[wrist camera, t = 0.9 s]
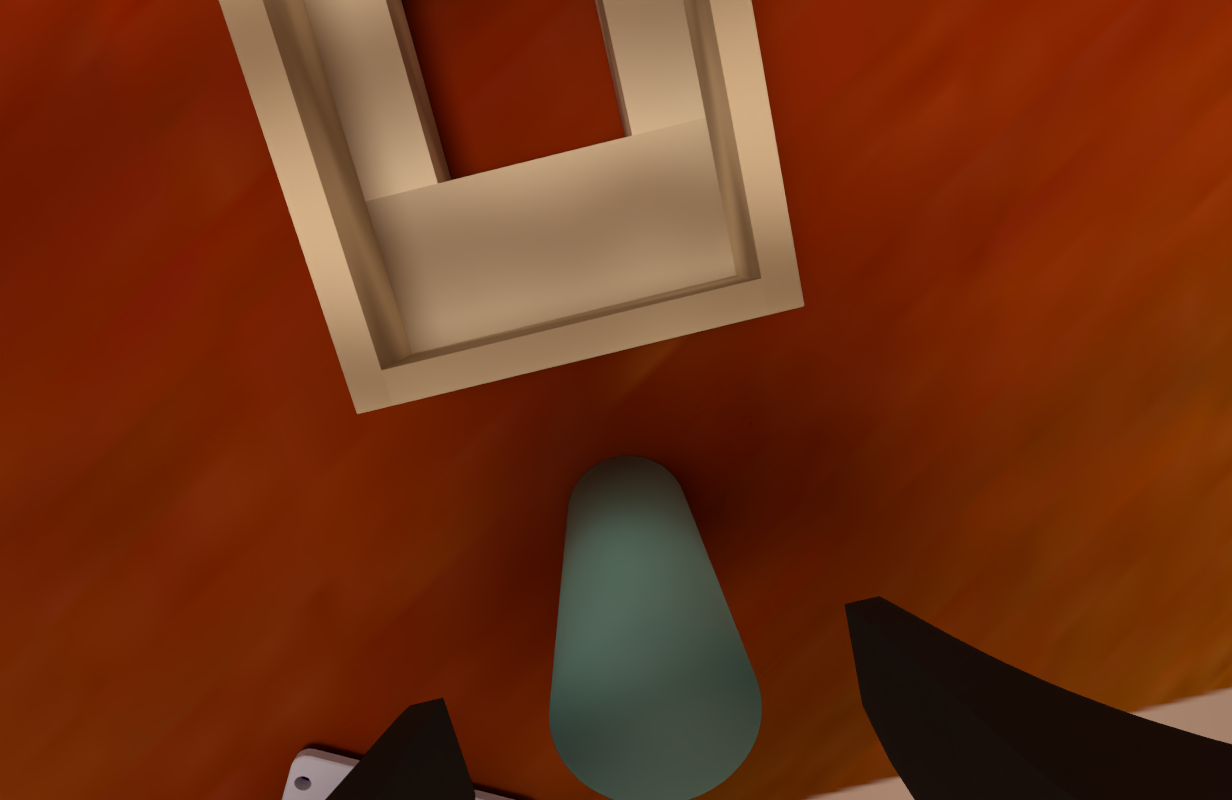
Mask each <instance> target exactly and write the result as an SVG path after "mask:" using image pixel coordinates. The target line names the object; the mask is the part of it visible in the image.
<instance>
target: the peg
mask: <svg viewBox="0 0 1232 800" xmlns="http://www.w3.org/2000/svg"><path fill="white" fill-rule="evenodd" d="M761 716H762V701H761V693H760V689H759V685H758V681H757V679H756V676H755V674H754V671H753V669H752V666H751V664H750V661H749V658H748V656H747V653H746V651H745V648H744V646H743V643H742V641H741V638H740V636H739V633H738V630H737V628H736V625H735V623H734V620H733V618H732V615H731V613H730V610H729V608H728V605H727V602H726V600H725V597H724V595H723V592H722V590H721V587H720V585H719V582H718V579H717V577H716V574H715V572H714V569H713V567H712V564H711V562H710V559H709V557H708V554H707V551H706V549H705V546H704V544H703V541H702V539H701V536H700V534H699V531H698V529H697V526H696V523H695V521H694V518H693V516H692V513H691V511H690V508H689V506H688V503H687V500H686V498H685V495H684V493H683V490H682V488H681V486H680V484H679V483H678V481H677V480H676V478H675V477H674V476H673V475H672V474H671V473H670V472H669V471H668V470H667V469H666V468H664V467H663V466H662V465H660V464H658V463H656V462H655V461H652V460H650V459H647V458H643V457H638V456H619V457H614V458H610V459H607V460H604V461H602V462H600V463H598V464H596V465H595V466H593V467H592V468H590V469H589V470H588V471H587V472H586V473H585V474H584V475H583V476H582V477H581V478H580V479H579V481H578V482H577V483H576V485H575V487H574V489H573V491H572V493H571V496H570V500H569V504H568V513H567V524H566V535H565V546H564V557H563V567H562V578H561V589H560V600H559V611H558V621H557V632H556V643H555V654H554V665H553V675H552V686H551V697H550V708H549V724H550V730H551V736H552V739H553V742H554V745H555V748H556V750H557V752H558V754H559V756H560V757H561V759H562V761H563V762H564V763H565V765H566V766H567V768H568V769H569V770H570V771H571V772H572V773H573V774H574V775H575V776H576V777H577V778H578V779H579V780H580V781H581V782H583V783H584V784H585V785H586V786H588V787H589V788H591V789H593V790H594V791H596V792H598V793H600V794H602V795H604V796H606V797H608V798H611V799H614V800H689V799H691V798H694V797H697V796H699V795H702V794H704V793H705V792H707V791H709V790H711V789H713V788H715V787H716V786H718V785H719V784H720V783H722V782H723V781H725V780H726V779H727V778H728V777H729V776H730V775H732V774H733V773H734V772H735V771H736V769H737V768H738V767H739V766H740V765H741V764H742V763H743V761H744V760H745V758H746V757H747V755H748V754H749V752H750V750H751V749H752V747H753V745H754V743H755V740H756V737H757V735H758V732H759V728H760V723H761Z"/></svg>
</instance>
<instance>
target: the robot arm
mask: <svg viewBox="0 0 1232 800" xmlns="http://www.w3.org/2000/svg"><path fill="white" fill-rule="evenodd" d="M845 609H846V615H847V620H848V626H849V632H850V637H851V643H852V649H853V654H854V660H855V666H856V671H857V677H858V682H859V688H860V694H861V699H862V705H863V707H864V709H865V711H866V713H867V715H868V717H869V719H870V722H871V724H872V726H873V728H874V730H875V732H876V734H877V736H878V738H879V740H880V742H881V744H882V746H883V748H884V750H885V752H886V754H887V756H888V758H889V760H890V762H891V763H892V765H893V766H894V768H895V770H896V771H897V773H898V774H899V776H900V777H901V779H902V781H903V782H904V784H905V785H906V787H907V788H908V790H909V792H910V793H911V795H912V796H913V798H914V799H915V800H1232V744H1229V743H1225V742H1221V741H1217V740H1214V739H1210V738H1206V737H1203V736H1200V735H1197V734H1193V733H1190V732H1187V731H1183V730H1180V729H1177V728H1174V727H1170V726H1167V725H1164V724H1160V723H1157V722H1154V721H1151V720H1148V719H1144V718H1142V717H1139V716H1136V715H1133V714H1130V713H1127V712H1124V711H1121V710H1118V709H1115V708H1113V707H1110V706H1107V705H1105V704H1102V703H1099V702H1097V701H1094V700H1091V699H1089V698H1086V697H1083V696H1081V695H1078V694H1076V693H1073V692H1070V691H1068V690H1065V689H1063V688H1060V687H1058V686H1056V685H1053V684H1051V683H1048V682H1046V681H1044V680H1042V679H1039V678H1037V677H1035V676H1033V675H1031V674H1028V673H1026V672H1024V671H1022V670H1020V669H1017V668H1015V667H1013V666H1011V665H1009V664H1006V663H1004V662H1002V661H1000V660H998V659H996V658H994V657H992V656H990V655H988V654H986V653H984V652H982V651H980V650H978V649H976V648H974V647H972V646H970V645H968V644H966V643H964V642H962V641H960V640H958V639H957V638H955V637H953V636H951V635H949V634H947V633H945V632H944V631H942V630H940V629H938V628H936V627H934V626H933V625H931V624H929V623H927V622H925V621H924V620H922V619H920V618H918V617H916V616H915V615H913V614H911V613H909V612H907V611H906V610H904V609H902V608H900V607H898V606H897V605H895V604H893V603H891V602H889V601H887V600H886V599H884V598H882V597H880V596H878V597H874V598H869V599H865V600H861V601H857V602H852V603H848V604H845ZM301 776H305V777H307V778H309V779H310V781H306V780H304V779H302V777H301ZM282 800H514V799H510V798H506V797H502V796H498V795H494V794H490V793H486V792H482V791H479V790H475V789H474V788H473V785H472V782H471V779H470V776H469V773H468V770H467V767H466V764H465V761H464V758H463V755H462V752H461V749H460V746H459V743H458V740H457V737H456V734H455V732H454V729H453V726H452V723H451V720H450V717H449V714H448V711H447V708H446V705H445V702H444V699H443V698H440V699H436V700H432V701H427V702H423V703H419V704H415V705H410V706H409V707H408V708H407V709H406V710H405V711H404V712H403V713H402V714H401V715H400V716H399V717H398V718H397V719H396V720H395V721H394V722H393V724H392V725H391V726H390V727H389V728H388V729H387V730H386V731H385V732H384V734H383V735H382V736H381V737H380V738H379V739H378V740H377V742H376V743H375V744H374V745H373V746H372V747H371V748H370V750H369V751H368V752H367V753H366V754H365V755H364V756H363V758H362V759H361V760H356V759H352V758H348V757H344V756H340V755H336V754H332V753H328V752H324V751H320V750H316V749H305V750H302V751H301V752H299V753H298V755H297V756H296V758H295V760H294V761H293V763H292V765H291V768H290V772H289V776H288V779H287V783H286V787H285V790H284V794H283V798H282Z"/></svg>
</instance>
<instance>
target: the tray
mask: <svg viewBox="0 0 1232 800" xmlns="http://www.w3.org/2000/svg"><path fill="white" fill-rule="evenodd" d="M219 2H220V5H221V8H222V11H223V14H224V17H225V20H226V23H227V26H228V29H229V32H230V35H231V38H232V41H233V44H234V47H235V50H236V53H237V56H238V59H239V62H240V65H241V68H242V71H243V74H244V77H245V80H246V83H247V86H248V89H249V92H250V95H251V98H252V101H253V104H254V107H255V110H256V113H257V116H258V119H259V122H260V125H261V128H262V131H263V134H264V137H265V140H266V143H267V146H268V148H269V151H270V154H271V157H272V160H273V163H274V166H275V169H276V172H277V175H278V178H279V181H280V184H281V187H282V190H283V193H284V196H285V199H286V202H287V205H288V208H289V211H290V214H291V217H292V220H293V223H294V226H295V229H296V232H297V235H298V238H299V241H300V244H301V247H302V250H303V253H304V256H305V259H306V262H307V265H308V268H309V271H310V274H311V277H312V280H313V283H314V286H315V289H316V292H317V295H318V298H319V301H320V304H321V307H322V310H323V313H324V316H325V319H326V322H327V325H328V328H329V331H330V334H331V337H332V340H333V343H334V346H335V349H336V352H337V355H338V358H339V361H340V364H341V367H342V370H343V373H344V376H345V379H346V382H347V385H348V388H349V391H350V394H351V397H352V400H353V403H354V406H355V409H356V412H357V414H360V413H364V412H368V411H372V410H376V409H381V408H385V407H389V406H393V405H397V404H401V403H405V402H410V401H414V400H418V399H422V398H426V397H430V396H434V395H438V394H443V393H447V392H451V391H455V390H459V389H463V388H467V387H472V386H476V385H480V384H484V383H488V382H492V381H496V380H501V379H505V378H509V377H513V376H517V375H521V374H525V373H530V372H534V371H538V370H542V369H546V368H550V367H554V366H559V365H563V364H567V363H571V362H575V361H579V360H583V359H588V358H592V357H596V356H600V355H604V354H608V353H612V352H617V351H621V350H625V349H629V348H633V347H637V346H641V345H646V344H650V343H654V342H658V341H662V340H666V339H670V338H675V337H679V336H683V335H687V334H691V333H695V332H699V331H704V330H708V329H712V328H716V327H720V326H724V325H728V324H733V323H737V322H741V321H745V320H749V319H753V318H757V317H762V316H766V315H770V314H774V313H778V312H782V311H786V310H791V309H795V308H799V307H803V306H804V301H803V295H802V289H801V284H800V278H799V272H798V266H797V261H796V255H795V249H794V243H793V238H792V232H791V226H790V220H789V214H788V209H787V203H786V197H785V191H784V186H783V180H782V174H781V168H780V163H779V157H778V151H777V145H776V140H775V134H774V128H773V122H772V116H771V111H770V105H769V99H768V93H767V88H766V82H765V76H764V70H763V65H762V59H761V53H760V47H759V42H758V36H757V30H756V24H755V18H754V13H753V7H752V1H751V0H595V3H596V7H597V12H598V16H599V21H600V25H601V30H602V34H603V39H604V43H605V48H606V53H607V57H608V62H609V66H610V71H611V75H612V80H613V84H614V89H615V93H616V98H617V102H618V107H619V111H620V116H621V120H622V125H623V130H624V134H625V138H621V139H617V140H613V141H609V142H604V143H600V144H596V145H592V146H588V147H584V148H580V149H576V150H572V151H568V152H564V153H560V154H556V155H552V156H548V157H544V158H540V159H535V160H531V161H527V162H523V163H519V164H515V165H511V166H507V167H503V168H499V169H495V170H491V171H487V172H483V173H479V174H475V175H470V176H466V177H462V178H458V179H454V180H451V177H450V173H449V169H448V166H447V162H446V159H445V155H444V151H443V148H442V144H441V141H440V137H439V134H438V130H437V126H436V123H435V119H434V116H433V112H432V108H431V105H430V101H429V98H428V94H427V91H426V87H425V83H424V80H423V76H422V73H421V69H420V65H419V62H418V58H417V55H416V51H415V48H414V44H413V40H412V37H411V33H410V30H409V26H408V23H407V19H406V15H405V12H404V8H403V5H402V1H401V0H219Z"/></svg>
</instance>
